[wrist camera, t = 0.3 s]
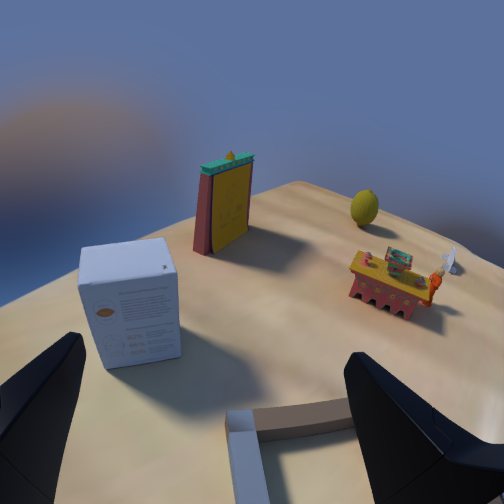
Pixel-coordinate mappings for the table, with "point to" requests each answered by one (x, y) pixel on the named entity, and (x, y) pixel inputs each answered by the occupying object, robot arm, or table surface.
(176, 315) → the small box
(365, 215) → the lemon
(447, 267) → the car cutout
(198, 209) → the toy shop counter set
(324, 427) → the u-shaped bar frame
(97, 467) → the table surface
